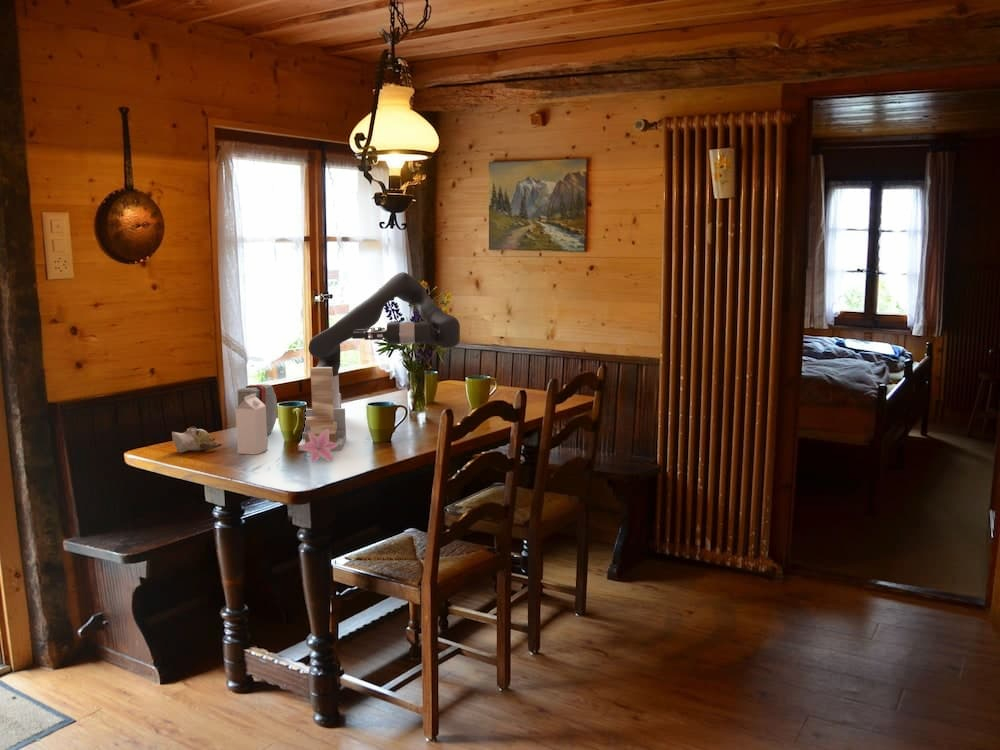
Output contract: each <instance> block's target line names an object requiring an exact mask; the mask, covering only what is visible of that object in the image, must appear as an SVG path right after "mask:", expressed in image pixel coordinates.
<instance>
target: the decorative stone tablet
mask: <svg viewBox="0 0 1000 750" xmlns="http://www.w3.org/2000/svg"><path fill="white" fill-rule="evenodd" d="M236 393H237V395H236V396H237V407H238V406H239V405H240V404H241V403H242V402H243V401H244V397H246V396H249V395H252V394H255V393H256V397H257V398H258V399H259V400H260V401H261V402H262V403H263V404H264V405H265V406H266V422H267V436H268V435H270V433H271V432H272V431H273V430H274V427H275V424H276V421H277V415H278V412H277V411H278V404H277V395H276V393H275V390H274V388H273V386H272V385H270V384H249V385H246V386H245V387H243V388H239V389H237V391H236Z"/></svg>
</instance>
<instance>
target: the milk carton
mask: <svg viewBox="0 0 1000 750" xmlns="http://www.w3.org/2000/svg"><path fill="white" fill-rule="evenodd" d="M234 410H235V425H236V426H235V427H236V443H237V446H236V447H237V454H243V455H260V454H261V453H263V452H266V451H268V450H269V447H268V435H267V422H266V406H265V405H264V404H263V403H262V402H261V401H260V400H259V399H258V398H257V397H256V393H255V394H252V395H249V396H246V397H244V401H243V402H242V403H241V404H240V405H239V406H238V405H237V407H235V409H234Z"/></svg>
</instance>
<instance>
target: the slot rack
mask: <svg viewBox="0 0 1000 750" xmlns="http://www.w3.org/2000/svg"><path fill="white" fill-rule="evenodd" d="M305 409H306V412H305V415H306V416H305V418H306V417H312V408H305ZM334 422H336V423H337V433H338V439H337V441H336V444H338V446H336V447H334V448H332V449H330V451H342V449H343V447H344V445H345V442H346V440H347V433H346V432H347V431H346V429H347V427H346V425H347V424H346V408H345V407H344V408H343V407H341V408H335V409H334ZM307 431H310V426H306V420H305V427H304V429H303V432H302V433H301V434H302V435H301V437H302V439H301V441H300V442H298V443H299V444H297V450H298V452H306V451H305V450H302V449H300V448H299V447H300V446H301V445H303V444H305V434H306V432H307Z"/></svg>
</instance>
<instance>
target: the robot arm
mask: <svg viewBox="0 0 1000 750" xmlns="http://www.w3.org/2000/svg"><path fill="white" fill-rule="evenodd" d="M395 298H398V299H400V300H402V302H403V301H404V302H405V303H408V304H409V305H411V306H413V307H414V308H416V309H417V310H418V311H419V315H420V316H421V319H422V320H423V322H413V321H412V322H411V321H393V322H387V323H386V328H385V327H380V326H378V327H373V326H375V325H376V324H377V323H378V322H379V320H380V319H381V316H382V313H383V310H384V308H385V306H386V304H388V303H390V302H391V300H393V299H395ZM437 331H439V332H437ZM350 339H353V340H359V339H361V340H362V339H363V340H364V341H368V340H369V341H374V340H375V341H381V340H383V339H386V342H387V345H411V344H430V345H435V346H437V347H442V348H446V349H449V348H453V347H456V346H458V345H459V344H460V341H461V325H460V322H459V320H458V318H456V317H455V316H453V315H451V314H448V313H446V312H444V310H443V309H442V308H441V307H439V305H437V303H436V302H434V301H433V299H432V298H431V297H430V296H429V294H428V293H427V291H426V290H425V288H424V286H423V285H422V284H421V282H420V281H419V280H418V279H417V278H416V277H413V276H412V275H410V274H409V273H407V272H401V271H400V272H398V273H397V274H394V275H393V276H392V277H391V278H390V279H389V280H388V281H387V282H386V283H385V284H383V285H382V286H381V287H380V288H379V289H378V290H377V291H376V292H374V293H373V294H372V295H370V296H369V297H368V298H366V300H364V301H363V302H361V303H360V304H358V305H357V306H356V307H354V308H352V309H351V310H350V311H349V312H348V313H346V314H345V315H343V316H342V317H341V318H340V319H339V320H338V321H336V322H335V323H334V324H333V325H331V326H330V327H329V328H327V329H325V330H323V331H322V332H320V333H318V334H316V335H314V337H312V338H311V339H310V340H309V344H308V352H309V353H310V355H311V356H312V357H313V358H315V359H318V363H317V365H316V366H315V367H332V372H333V400H334V409H335V408H342V393H340V389H339V388H340V381H339V371H340V367H341V344H342V343H344V342H346V341H348V340H350Z"/></svg>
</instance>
